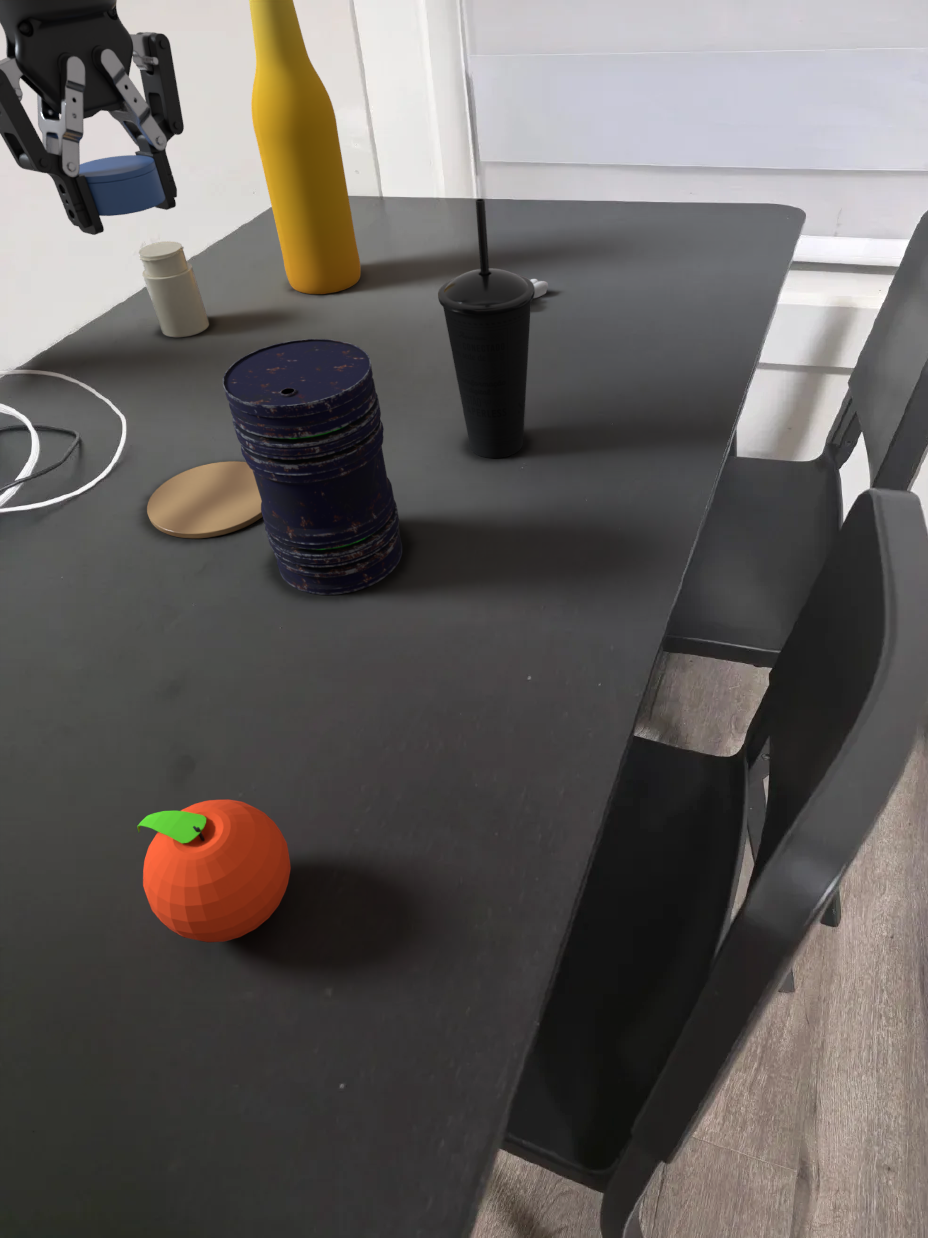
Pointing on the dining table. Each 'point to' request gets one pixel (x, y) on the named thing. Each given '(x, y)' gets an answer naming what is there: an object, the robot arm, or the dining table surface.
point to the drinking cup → (490, 349)
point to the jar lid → (123, 184)
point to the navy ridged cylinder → (317, 462)
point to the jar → (173, 289)
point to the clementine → (215, 869)
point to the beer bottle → (301, 155)
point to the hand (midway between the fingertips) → (129, 218)
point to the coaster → (206, 501)
